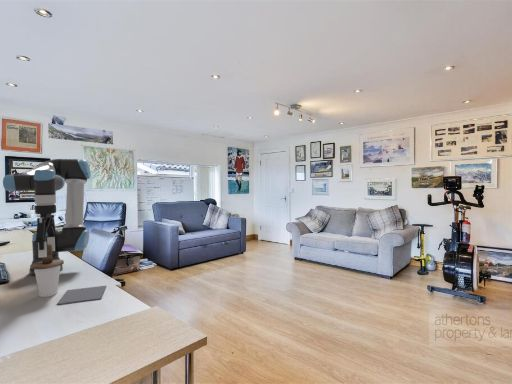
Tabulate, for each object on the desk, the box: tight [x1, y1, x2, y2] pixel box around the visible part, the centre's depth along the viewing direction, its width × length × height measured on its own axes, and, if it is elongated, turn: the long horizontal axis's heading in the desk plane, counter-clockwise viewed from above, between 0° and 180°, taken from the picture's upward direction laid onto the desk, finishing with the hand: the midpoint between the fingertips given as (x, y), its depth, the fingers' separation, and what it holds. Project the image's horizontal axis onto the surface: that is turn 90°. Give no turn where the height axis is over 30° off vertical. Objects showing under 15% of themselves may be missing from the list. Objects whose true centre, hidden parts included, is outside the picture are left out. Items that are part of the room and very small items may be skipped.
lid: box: [29, 244, 65, 269], centre depth 127 cm, size 12×12×9 cm
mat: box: [56, 285, 107, 306], centre depth 126 cm, size 16×16×1 cm
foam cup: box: [34, 266, 61, 298], centre depth 127 cm, size 10×9×13 cm
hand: (47, 254), depth 127 cm, fingers open, 11 cm apart
